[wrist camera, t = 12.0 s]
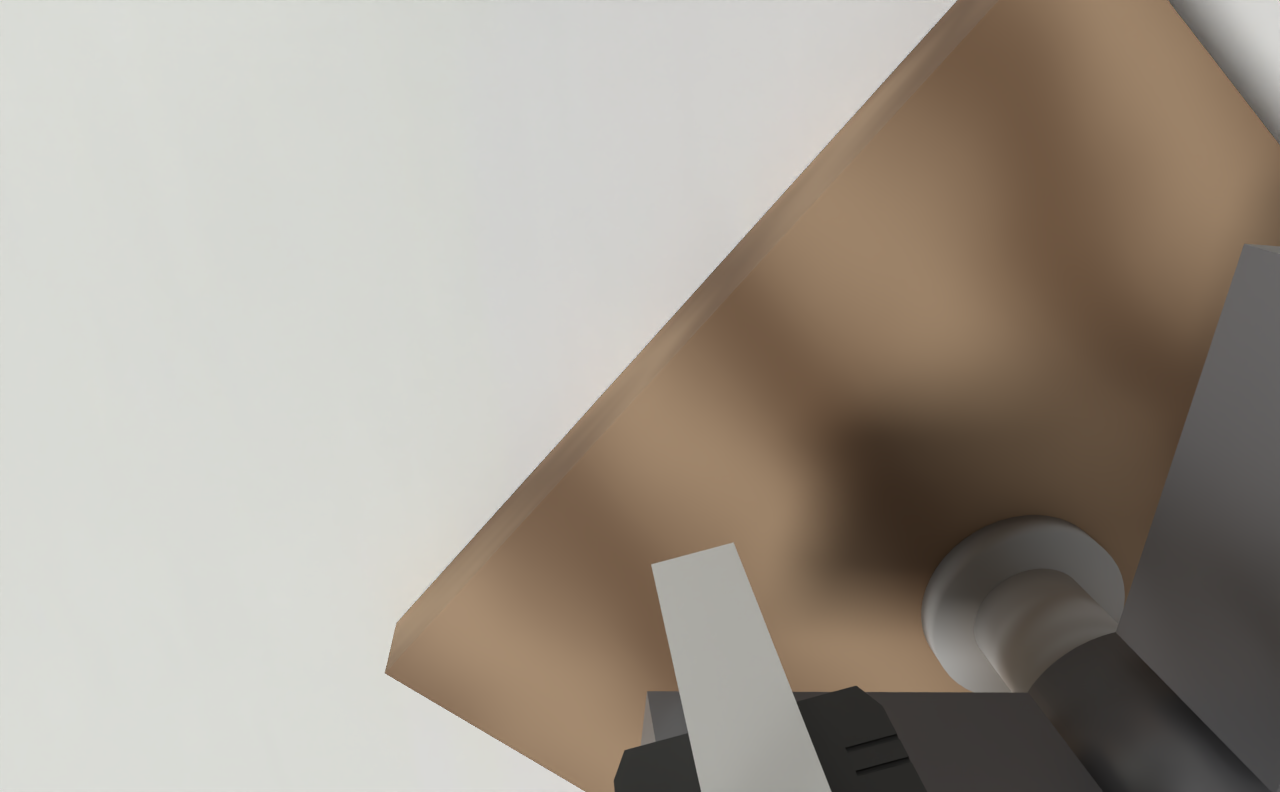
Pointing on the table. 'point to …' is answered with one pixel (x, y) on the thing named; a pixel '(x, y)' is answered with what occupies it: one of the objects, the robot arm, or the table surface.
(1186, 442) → the grey bar cross
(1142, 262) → the stud base
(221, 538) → the table surface
